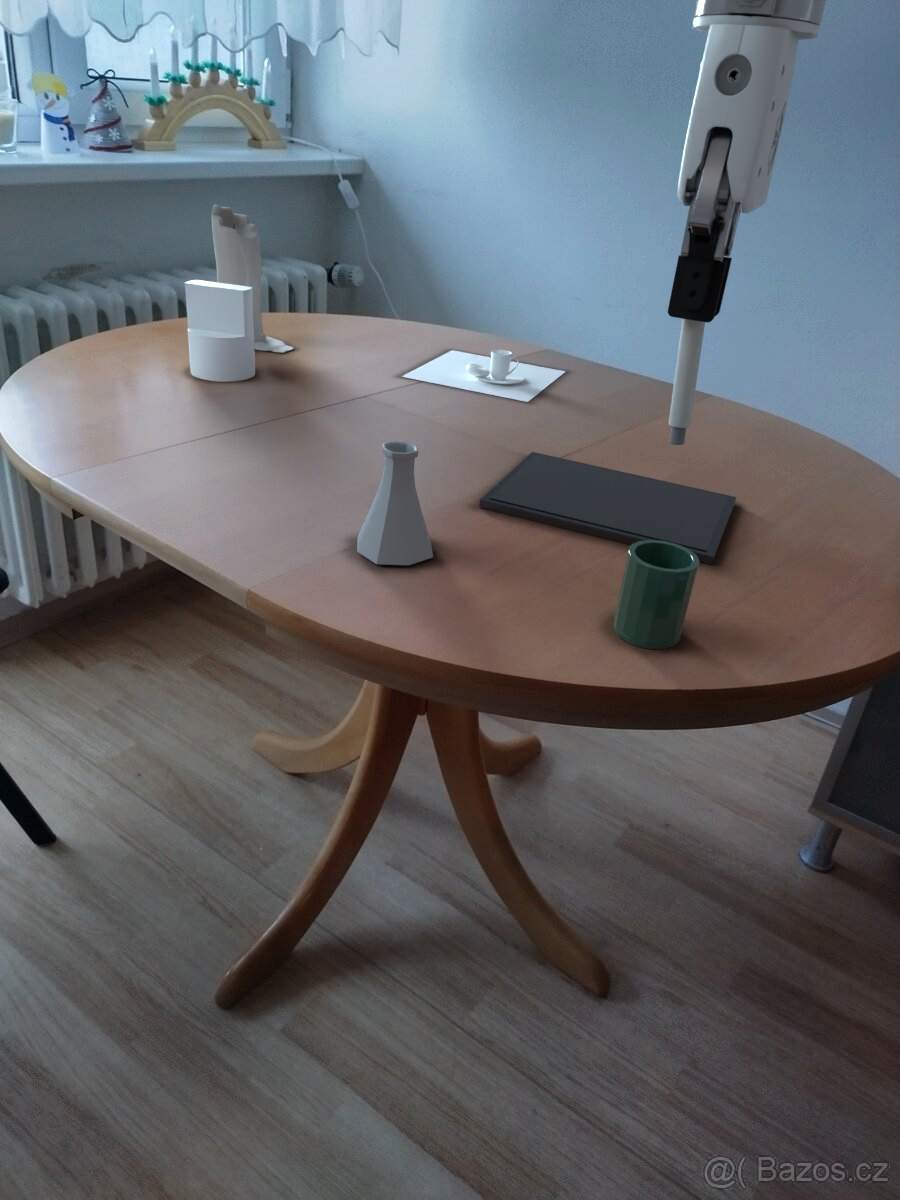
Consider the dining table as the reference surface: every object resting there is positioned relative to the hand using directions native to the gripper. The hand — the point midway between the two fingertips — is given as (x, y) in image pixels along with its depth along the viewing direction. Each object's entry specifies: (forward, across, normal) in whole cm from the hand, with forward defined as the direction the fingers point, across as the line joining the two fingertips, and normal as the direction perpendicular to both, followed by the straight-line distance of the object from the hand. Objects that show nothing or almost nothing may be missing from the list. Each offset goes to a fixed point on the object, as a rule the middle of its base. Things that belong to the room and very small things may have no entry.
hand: (693, 314), depth 62 cm
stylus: (+9, 0, -1) cm, 9 cm away
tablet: (+24, +21, +7) cm, 33 cm away
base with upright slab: (+25, +35, +68) cm, 81 cm away
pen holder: (+24, -3, -2) cm, 25 cm away
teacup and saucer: (+25, +61, +37) cm, 75 cm away
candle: (+25, +52, +74) cm, 94 cm away
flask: (+25, -1, +22) cm, 33 cm away
